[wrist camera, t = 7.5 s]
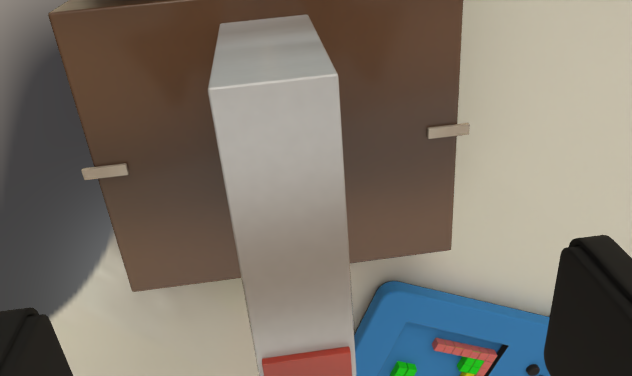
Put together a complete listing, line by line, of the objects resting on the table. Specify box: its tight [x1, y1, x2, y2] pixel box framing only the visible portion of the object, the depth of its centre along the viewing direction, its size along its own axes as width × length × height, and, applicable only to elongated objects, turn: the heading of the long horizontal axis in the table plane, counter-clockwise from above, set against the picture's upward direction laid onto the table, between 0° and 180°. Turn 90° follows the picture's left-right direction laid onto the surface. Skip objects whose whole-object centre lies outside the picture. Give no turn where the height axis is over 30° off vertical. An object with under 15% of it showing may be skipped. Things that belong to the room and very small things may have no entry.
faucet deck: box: [48, 0, 470, 292], centre depth 19 cm, size 13×13×3 cm
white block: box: [208, 15, 356, 376], centre depth 15 cm, size 8×3×6 cm, turn 4°
